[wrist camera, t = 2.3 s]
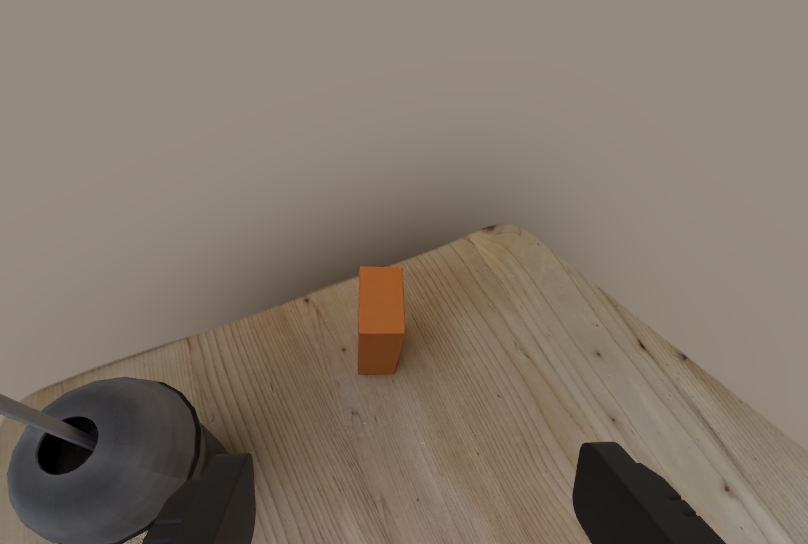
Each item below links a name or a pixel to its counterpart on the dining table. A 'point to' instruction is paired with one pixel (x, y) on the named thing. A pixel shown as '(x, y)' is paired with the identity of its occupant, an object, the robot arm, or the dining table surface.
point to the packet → (380, 319)
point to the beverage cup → (104, 459)
